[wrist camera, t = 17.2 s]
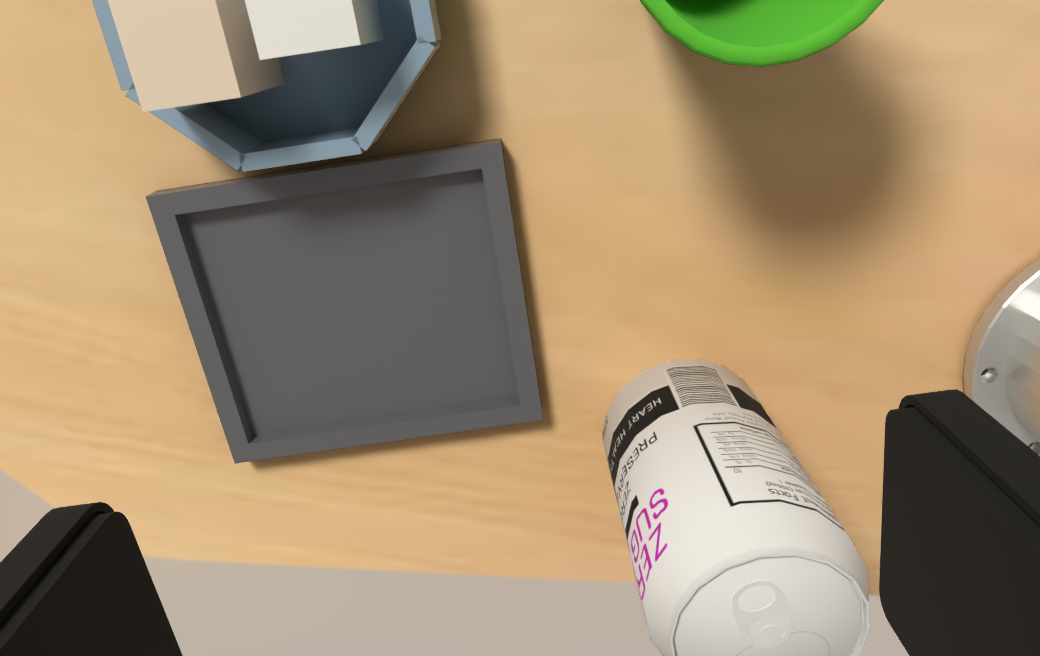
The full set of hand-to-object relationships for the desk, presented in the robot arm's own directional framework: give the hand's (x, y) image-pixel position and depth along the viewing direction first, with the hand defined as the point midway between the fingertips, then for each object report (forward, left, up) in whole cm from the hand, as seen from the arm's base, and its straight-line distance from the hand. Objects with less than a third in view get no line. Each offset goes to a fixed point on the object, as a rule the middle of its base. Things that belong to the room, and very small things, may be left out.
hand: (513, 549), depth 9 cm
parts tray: (+8, +6, -28) cm, 30 cm away
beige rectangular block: (+11, -7, -27) cm, 30 cm away
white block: (+6, -8, -27) cm, 29 cm away
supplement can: (-7, +15, -28) cm, 33 cm away
